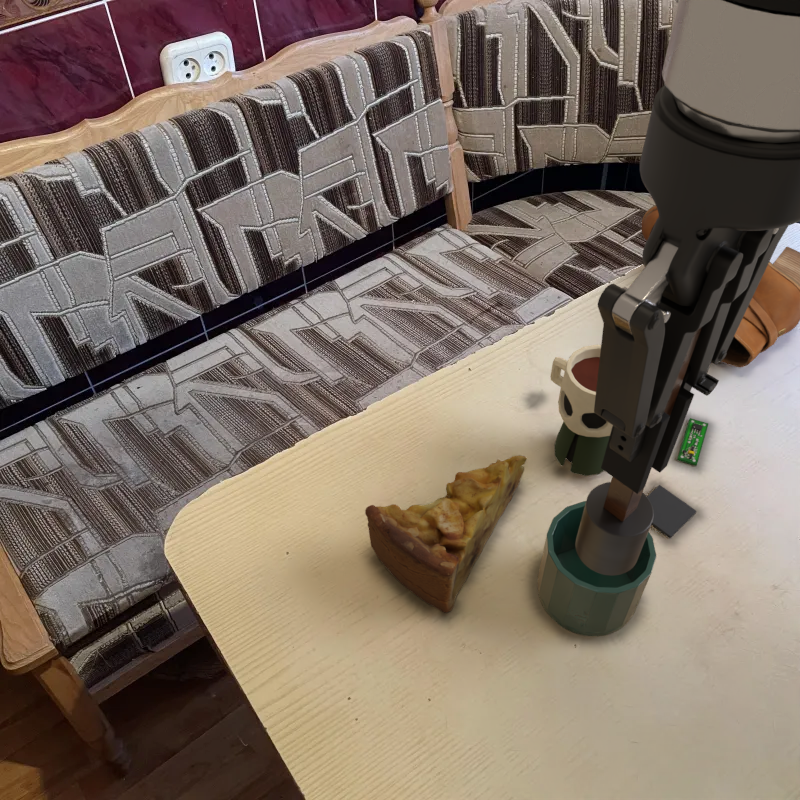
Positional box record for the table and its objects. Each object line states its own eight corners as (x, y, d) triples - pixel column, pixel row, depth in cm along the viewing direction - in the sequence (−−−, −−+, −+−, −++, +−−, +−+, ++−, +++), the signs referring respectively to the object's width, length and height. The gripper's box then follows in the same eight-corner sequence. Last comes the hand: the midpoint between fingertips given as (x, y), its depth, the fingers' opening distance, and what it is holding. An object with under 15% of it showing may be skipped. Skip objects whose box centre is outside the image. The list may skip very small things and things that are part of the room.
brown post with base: (650, 549, 54) (748, 312, 37) (613, 587, 52) (698, 355, 35) (600, 511, 56) (672, 273, 40) (562, 547, 54) (621, 311, 38)
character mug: (521, 447, 82) (534, 361, 72) (561, 411, 85) (578, 324, 76) (607, 504, 76) (632, 420, 67) (645, 464, 80) (675, 377, 70)
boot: (644, 227, 107) (568, 299, 99) (665, 173, 100) (585, 246, 91) (805, 317, 98) (737, 403, 90) (842, 265, 91) (771, 354, 82)
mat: (695, 513, 76) (696, 510, 75) (669, 538, 74) (670, 536, 73) (658, 486, 78) (659, 484, 78) (632, 511, 76) (633, 508, 76)
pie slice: (439, 626, 68) (440, 582, 62) (363, 557, 73) (357, 510, 67) (561, 508, 76) (573, 459, 71) (485, 453, 81) (490, 403, 76)
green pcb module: (697, 462, 79) (678, 456, 80) (696, 466, 80) (677, 460, 80) (709, 421, 83) (690, 416, 84) (707, 425, 83) (689, 419, 84)
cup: (656, 593, 70) (677, 547, 64) (594, 657, 66) (610, 613, 60) (579, 532, 74) (592, 484, 69) (517, 588, 71) (525, 541, 65)
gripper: (765, 17, 35) (652, 377, 52) (559, 129, 28) (508, 498, 45) (935, 66, 31) (752, 437, 48) (743, 210, 24) (610, 579, 42)
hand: (634, 466), depth 47 cm, fingers closed on brown post with base, 2 cm apart
